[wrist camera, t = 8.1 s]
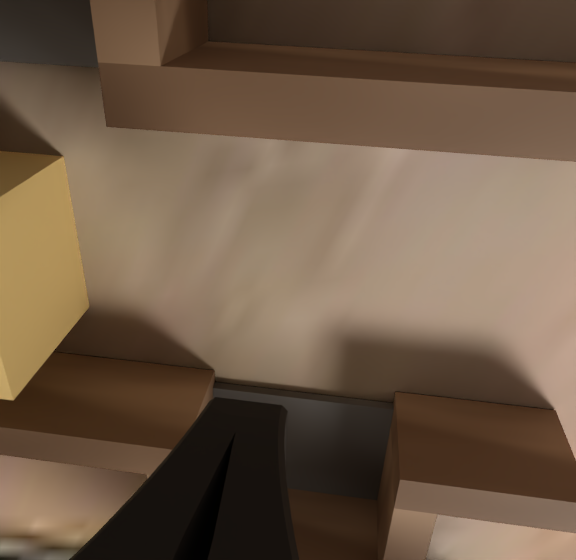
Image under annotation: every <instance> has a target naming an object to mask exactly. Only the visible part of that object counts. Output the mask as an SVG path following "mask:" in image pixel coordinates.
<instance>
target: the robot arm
mask: <svg viewBox="0 0 576 560" xmlns="http://www.w3.org/2000/svg"><path fill="white" fill-rule="evenodd" d="M287 418H288V411H287V410H286V409H285V408H284V407H283V406H282V405H277V404H269V403H261V402H253V401H244V400H236V399H228V398H220V397H215V398H213V399H212V400H210V401H209V402H208V404H207V405H206V407H205V408H204V409H203V411H202V412H201V414H200V415H199V416H198V418H197V419H196V420H195V422H194V423H193V424H192V426H191V427H190V428H189V429H188V431H187V432H186V433H185V435H184V436H183V437H182V438H181V440H180V441H179V442H178V443H177V445H176V446H175V447H174V448H173V450H172V451H171V452H170V453H169V454H168V456H167V457H166V458H165V459H164V460H163V461H162V463H161V464H160V465H159V466H158V467H157V468H156V470H155V471H154V472H153V473H152V474H151V475H150V477H149V478H148V479H147V480H146V481H145V482H144V483H143V485H142V486H141V487H140V488H139V489H138V490H137V491H136V492H135V494H134V495H133V496H132V497H131V498H130V499H129V500H128V501H127V502H126V503H125V504H124V505H123V506H122V507H121V508H120V509H119V510H118V511H117V512H116V514H115V515H114V516H113V517H112V518H111V519H110V520H109V521H108V522H107V523H106V524H105V525H104V526H103V527H102V528H101V529H100V530H99V531H98V532H97V533H96V534H95V535H94V536H93V537H92V538H91V539H90V540H89V541H88V542H87V543H86V544H85V545H84V546H83V547H82V548H81V549H80V550H79V551H78V552H77V553H76V554H75V555H74V556H73V557H72V558H71V559H69V560H299V555H298V550H297V545H296V540H295V535H294V529H293V523H292V517H291V510H290V503H289V496H288V488H287V480H286V469H285V462H286V440H287Z"/></svg>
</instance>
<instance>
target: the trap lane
mask: <svg viewBox="0 0 576 560" xmlns="http://www.w3.org/2000/svg"><path fill="white" fill-rule="evenodd" d="M0 61H4V62H20V63H35V64H51V65H67V66H82V67H98V68H99V73H100V81H101V89H102V96H103V104H104V111H105V119H106V126H107V127H117V128H130V129H144V130H157V131H171V132H184V133H198V134H211V135H224V136H238V137H251V138H265V139H278V140H292V141H305V142H318V143H332V144H345V145H359V146H372V147H386V148H399V149H412V150H426V151H439V152H453V153H466V154H480V155H493V156H506V157H520V158H533V159H547V160H560V161H574V162H576V63H573V62H556V61H539V60H521V59H504V58H487V57H470V56H452V55H435V54H418V53H400V52H383V51H366V50H349V49H331V48H314V47H297V46H280V45H262V44H245V43H228V42H210V41H209V36H208V7H207V0H0ZM215 397H220V398H228V399H236V400H244V401H253V402H261V403H269V404H277V405H282V406H283V407H284V408H285V409H286V410H287V411H288V418H287V440H286V462H285V469H286V480H287V488H288V496H289V503H290V510H291V517H292V523H293V529H294V535H295V540H296V545H297V550H298V555H299V560H425V558H426V555H427V551H428V547H429V544H430V540H431V536H432V533H433V529H434V525H435V522H436V518H437V514H439V515H446V516H453V517H461V518H468V519H475V520H483V521H490V522H497V523H505V524H512V525H519V526H527V527H534V528H541V529H549V530H556V531H563V532H570V533H576V460H575V458H574V455H573V453H572V450H571V448H570V445H569V443H568V440H567V438H566V435H565V433H564V430H563V428H562V425H561V423H560V420H559V418H558V415H557V413H556V410H548V409H539V408H531V407H522V406H513V405H505V404H496V403H488V402H479V401H471V400H462V399H453V398H445V397H436V396H428V395H419V394H410V393H402V392H395V397H394V403H387V402H379V401H370V400H362V399H353V398H345V397H337V396H328V395H320V394H311V393H303V392H294V391H286V390H277V389H269V388H261V387H252V386H244V385H235V384H227V383H218V382H215V371H213V370H204V369H196V368H187V367H179V366H170V365H161V364H153V363H144V362H136V361H127V360H118V359H110V358H101V357H93V356H84V355H76V354H67V353H58V352H52V354H51V355H50V356H49V357H48V359H47V360H46V361H45V362H44V363H43V365H42V366H41V367H40V368H39V370H38V371H37V372H36V373H35V375H34V376H33V377H32V378H31V380H30V381H29V382H28V383H27V384H26V386H25V387H24V388H23V389H22V391H21V392H20V393H19V394H18V396H17V397H16V398H15V399H14V400H6V399H0V455H7V456H14V457H22V458H29V459H36V460H43V461H51V462H58V463H65V464H73V465H80V466H87V467H95V468H102V469H109V470H117V471H124V472H131V473H139V474H146V475H147V479H148V478H149V477H150V475H151V474H152V473H153V472H154V471H155V470H156V468H157V467H158V466H159V465H160V464H161V463H162V461H163V460H164V459H165V458H166V457H167V456H168V454H169V453H170V452H171V451H172V450H173V448H174V447H175V446H176V445H177V443H178V442H179V441H180V440H181V438H182V437H183V436H184V435H185V433H186V432H187V431H188V429H189V428H190V427H191V426H192V424H193V423H194V422H195V420H196V419H197V418H198V416H199V415H200V414H201V412H202V411H203V409H204V408H205V407H206V405H207V404H208V402H209V401H210V400H212V399H213V398H215Z"/></svg>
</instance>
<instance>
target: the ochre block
mask: <svg viewBox="0 0 576 560" xmlns="http://www.w3.org/2000/svg"><path fill="white" fill-rule="evenodd" d="M88 308H89V301H88V295H87V290H86V284H85V278H84V272H83V266H82V261H81V255H80V249H79V243H78V237H77V232H76V226H75V220H74V214H73V209H72V203H71V197H70V191H69V185H68V180H67V174H66V168H65V162H64V156H55V155H43V154H31V153H20V152H8V151H0V399H6V400H14V399H15V398H16V397H17V396H18V394H19V393H20V392H21V391H22V389H23V388H24V387H25V386H26V384H27V383H28V382H29V381H30V380H31V378H32V377H33V376H34V375H35V373H36V372H37V371H38V370H39V368H40V367H41V366H42V365H43V363H44V362H45V361H46V360H47V359H48V357H49V356H50V355H51V354H52V352H53V351H54V350H55V349H56V347H57V346H58V345H59V344H60V342H61V341H62V340H63V339H64V338H65V336H66V335H67V334H68V333H69V331H70V330H71V329H72V328H73V326H74V325H75V324H76V323H77V322H78V320H79V319H80V318H81V317H82V315H83V314H84V313H85V312H86V310H87V309H88Z"/></svg>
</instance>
